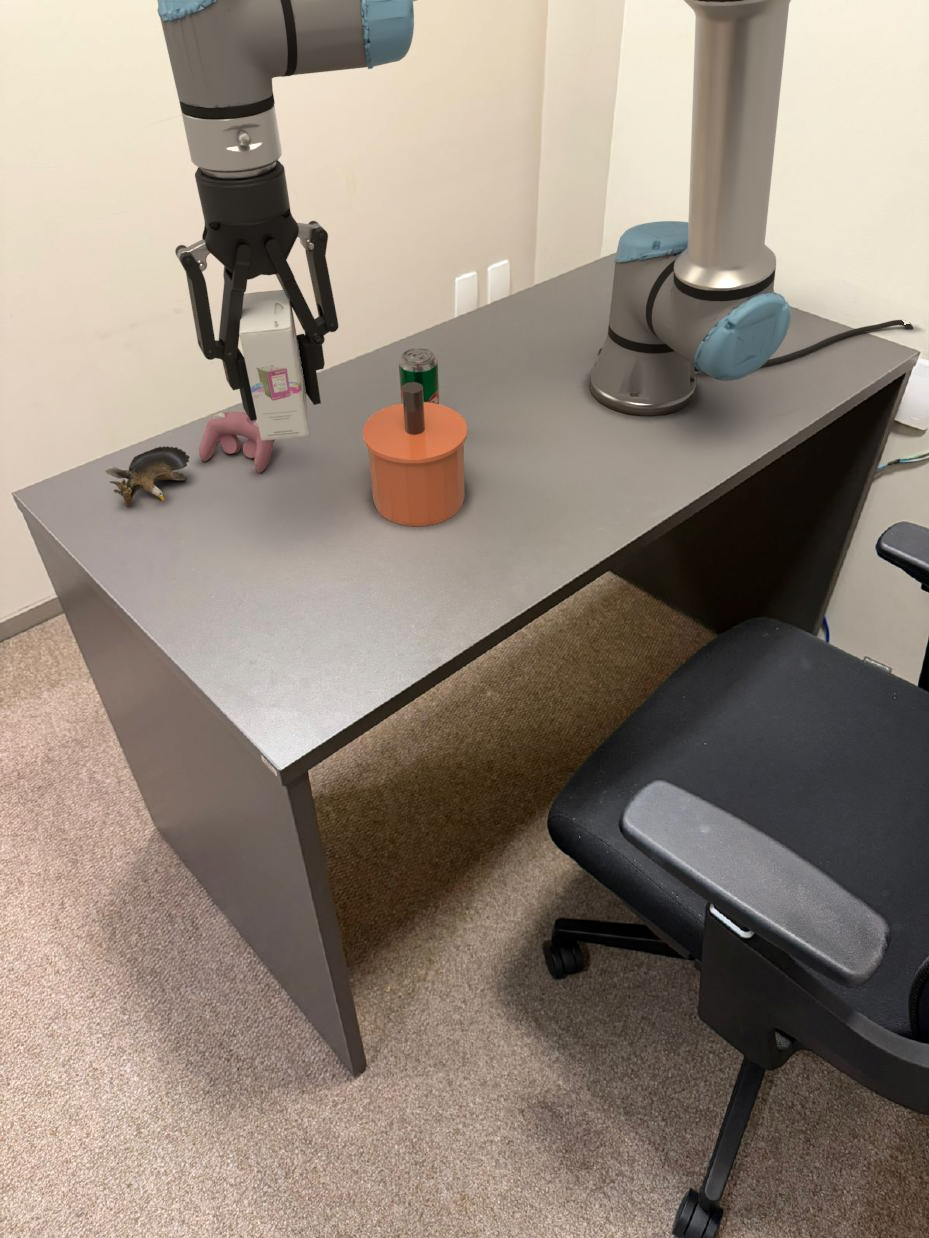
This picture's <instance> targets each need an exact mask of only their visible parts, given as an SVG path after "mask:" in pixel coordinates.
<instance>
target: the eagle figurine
mask: <svg viewBox="0 0 929 1238" xmlns="http://www.w3.org/2000/svg"><path fill="white" fill-rule="evenodd" d="M190 458H191V457H190V455H189V454H187V452H186V451H184V450H183V449H181V448H178V447H177V446H176V447H174V446H169V445H167V446H165V445H163V446H158V447H154V448H152V449H150V450H147V451H144V452H143V453H140V454H137V455H135V456H134V457H133V458H132V460H131V462H130V464H129V465H128V469H121V468H119V467H116V466H112V467H111V466H110V467H107V468H104V471H105V473H106V474H107V475H108V476H111V477H114V478H115V479H122V481H117V480H110V481H109V484H113V485H115V486H116V487H117V488H118V489H113V492H114V493H116V494H118V495H120V496H121V497H123V500H124V505H125V507H128V506H129V505H130V504H131V503H132V502H133V499H134V496H135V494H136V493H137V491H138V490H140V489H141V490H143V491H145V492H147V493H150V494H152V495H154V496H155V497H157V498H159V499H160V500H161V501H162V502H164V501H165V497H164V494H163V492H162V490H161V489H160V488H158V487H157V486H156V484H154V483H155V482H156V481H164V480H165V481H167V480H168V481H169V480H172V481H182V482H183V481H184V482H185V480H186V479H187V478H186V477H187V476H186V474H184V473H183V472H179V470H183V469H185V468H186V467H187V466H188V464H187V463H189V462H190ZM125 479H127V480H125Z"/></svg>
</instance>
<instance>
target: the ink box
mask: <svg viewBox="0 0 929 1238" xmlns="http://www.w3.org/2000/svg"><path fill="white" fill-rule="evenodd" d="M297 335H298V334H297V329H296V323H295V317H294V310H293V308H292V306H291V303H290V300H289V299H288V297H287V296H286V294H285V292H284V290H283V289H278V290H267V291H256V292H248V293H246V292H245V293H244V299H243V307H242V316H241V319H240V329H239V341H240V345H241V349H242V355H243V356H244V359H245V363H246V368H247V373H248V378H249V383H250V388H251V393H252V397H253V402H254V407H255V411H256V416H257V421H258V426H259V431H260V436H261V440H274V439H275V440H284V439H296V438H305V437H308V436H309V433H310V432H309V419H308V406H307V405H308V404H307V394H306V391H305V385H304V379H303V372H302V366H301V360H300V353H299V347H298V341H297Z"/></svg>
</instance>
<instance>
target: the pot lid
mask: <svg viewBox="0 0 929 1238" xmlns="http://www.w3.org/2000/svg"><path fill="white" fill-rule="evenodd" d="M402 397H403V403H397V404H393V405H390V406H387V407H385V408H381V409H380V410H378V411H376V412H375V413H373V414H372V415H371V416H370V417H369V418H368V419H367V420H366V422H365V423H364V425H363V427H362V440H363V444H364V445H365V447H366V448H367V450H368V449H369V450H370V451H371V452H372V453H374V454H375V455H377V456H379V457H381V458H383V459H386V460H389V461H394V462H399V463H425V462H431V461H435V460H439V459H442V458H444V457H447V456H449V455H451V454H452V453H454V452H455V451H457V450H458V449H459V448H460V447H461V446H462V445H463V444H465V443H466V441H467V438H468V424H467V422H466V420H465V419H464V417H463V416H462V415H461V414H460V413H459V412H457V411H456V410H454V409H453V408H451V407H448V406H446V405H443V404H440V403H439V404H435V403H428V402H424V398H423V386H422V385H421V384H419V383H415V382H411V383H407V384H404V385H403V386H402Z"/></svg>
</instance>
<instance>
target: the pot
mask: <svg viewBox="0 0 929 1238" xmlns="http://www.w3.org/2000/svg"><path fill="white" fill-rule="evenodd" d="M464 444H465V443H464ZM464 444H463V445H462V446H461V447H460V448H459V449H458V450H457V451H455V452H454V453H452V454H451V455H449V456H447V457H444V458H442V459H439V460H435V461H431V462H425V463H399V462H394V461H389V460H386V459H383V458H381V457H379V456H377V455H375V454H374V453H372V452H371V451H370V450H369V449H368V448H367V454H368V462H369V463H368V464H369V471H370V472H369V474H370V482H371V490H372V501H373V503H374V507H375V509H376V511H377V512H378V513H379V514H380V515H381V516H382V517H383V518H384V519H386V520H388V521H390V522H391V523H395V524H398V525H402V526H407V527H426V526H431V525H436V524H440V523H442V522H445V521H447V520H449V519H450V518H452V517H453V516H455V515H456V514H457V513H458V512H459V511H460V509H461V508H462V506H463V504H464V501H465V452H464V451H465V445H464Z"/></svg>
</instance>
